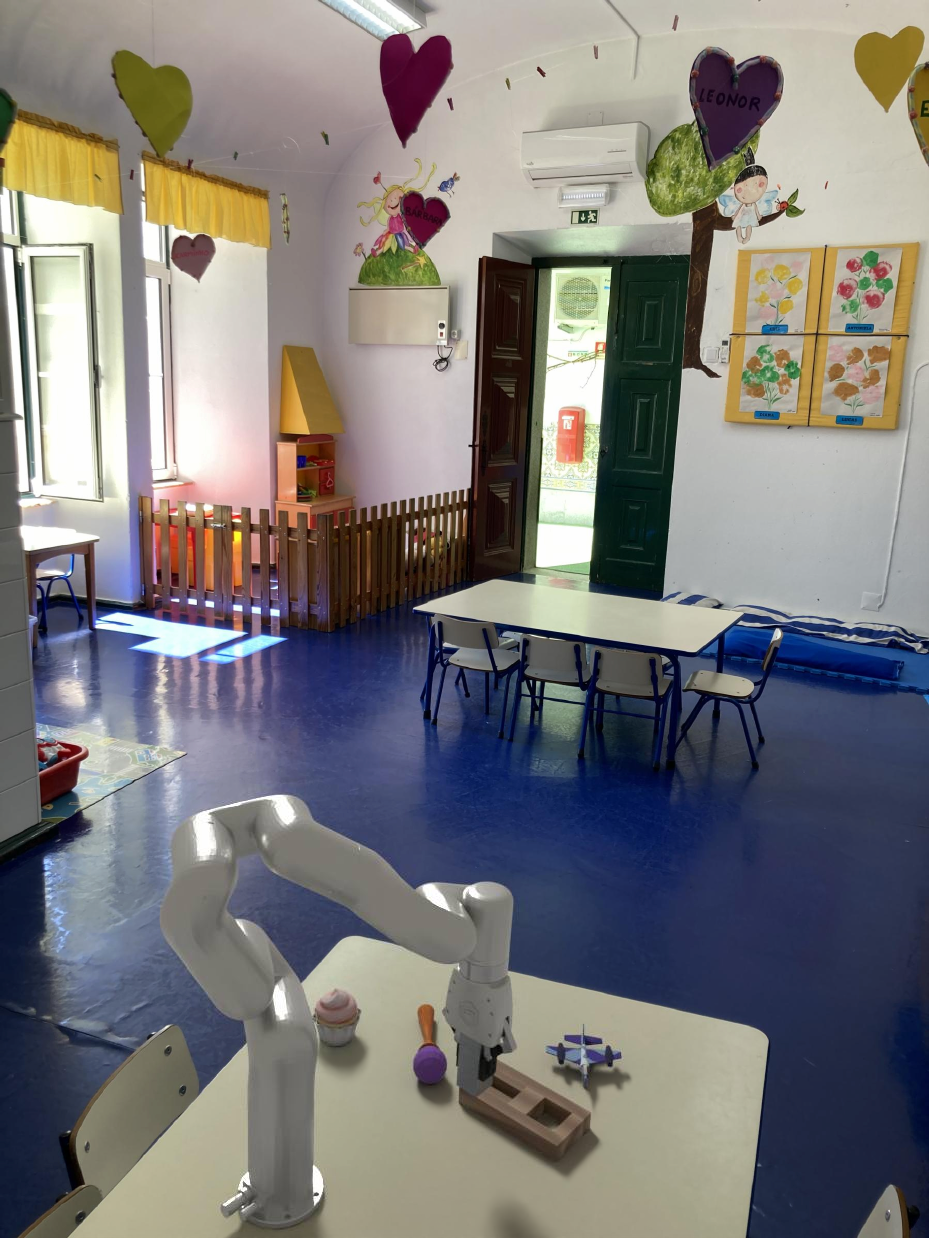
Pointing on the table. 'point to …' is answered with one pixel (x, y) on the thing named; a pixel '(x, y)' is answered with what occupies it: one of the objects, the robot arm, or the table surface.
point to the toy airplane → (583, 1053)
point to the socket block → (529, 1111)
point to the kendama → (428, 1050)
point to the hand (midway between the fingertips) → (475, 1068)
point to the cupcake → (336, 1017)
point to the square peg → (471, 1066)
